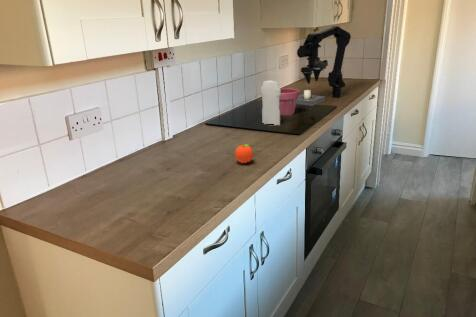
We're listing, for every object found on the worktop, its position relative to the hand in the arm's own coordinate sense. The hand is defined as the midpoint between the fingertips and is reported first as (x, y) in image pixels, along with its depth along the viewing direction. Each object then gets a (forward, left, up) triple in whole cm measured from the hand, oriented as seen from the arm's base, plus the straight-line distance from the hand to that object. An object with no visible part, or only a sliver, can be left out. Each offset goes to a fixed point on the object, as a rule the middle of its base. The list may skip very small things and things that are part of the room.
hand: (312, 82), depth 241 cm
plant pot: (+33, +1, -12) cm, 35 cm away
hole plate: (+2, -3, -12) cm, 12 cm away
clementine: (+104, +27, -12) cm, 108 cm away
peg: (+2, -3, -12) cm, 12 cm away
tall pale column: (+55, +6, -12) cm, 56 cm away
